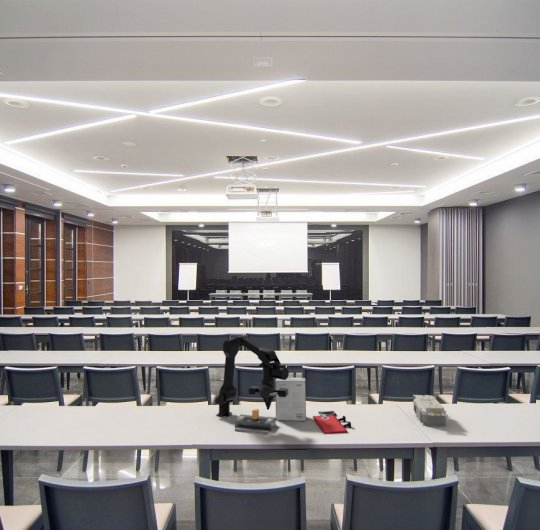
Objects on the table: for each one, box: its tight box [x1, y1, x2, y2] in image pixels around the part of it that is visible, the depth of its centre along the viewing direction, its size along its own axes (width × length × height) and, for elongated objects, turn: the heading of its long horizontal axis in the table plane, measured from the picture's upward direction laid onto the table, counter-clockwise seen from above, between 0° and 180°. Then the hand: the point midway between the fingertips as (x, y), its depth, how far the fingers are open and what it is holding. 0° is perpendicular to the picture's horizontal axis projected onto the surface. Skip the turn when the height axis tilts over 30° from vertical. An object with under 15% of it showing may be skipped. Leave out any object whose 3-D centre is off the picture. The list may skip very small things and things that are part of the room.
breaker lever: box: [251, 408, 260, 419], centre depth 203 cm, size 3×2×4 cm
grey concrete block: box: [412, 394, 448, 427], centre depth 212 cm, size 12×28×10 cm, turn 177°
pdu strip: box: [234, 414, 277, 432], centre depth 203 cm, size 9×18×4 cm, turn 74°
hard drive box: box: [274, 377, 307, 422], centre depth 215 cm, size 16×8×20 cm, turn 84°
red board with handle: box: [312, 410, 352, 435], centre depth 209 cm, size 30×3×15 cm
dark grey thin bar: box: [234, 426, 269, 435], centre depth 196 cm, size 2×16×1 cm, turn 74°
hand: (268, 409), depth 201 cm, fingers closed
